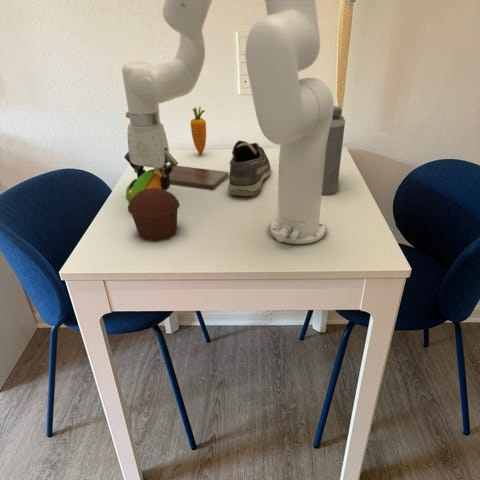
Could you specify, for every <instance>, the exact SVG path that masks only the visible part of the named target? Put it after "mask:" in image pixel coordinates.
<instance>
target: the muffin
mask: <svg viewBox="0 0 480 480" xmlns="http://www.w3.org/2000/svg"><path fill="white" fill-rule="evenodd" d="M180 206H181V204H180V201H179V200H178V198H177V197H176V196H175V194H173V193H171V192H169V191H168V190H163V189H162V188H161V189H159V188H149V189H145V190H142V191H140V192H138V193H137V194H136V195H135V196H134V197H133V198H132V199H131V200H130V203H129V202H128V206H127V211H128V212H129V213H130V215H131V217H132V219H133V222H134V225H135V227H136V230H137V233H138V235H139V236H140V237H141V238H142V239H143V240H146V241H153V242H158V241H162V240H163V241H164V240H168V239H170V238H171V237H173V236H175V235H176V232H177V230H178V209H179V208H180Z"/></svg>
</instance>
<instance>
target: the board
mask: <svg viewBox="0 0 480 480" xmlns="http://www.w3.org/2000/svg"><path fill="white" fill-rule="evenodd" d="M167 165H168V167H169V165H170V164H167ZM152 170H154V171H155V172H159V173H160V171H159V169H158V168H152ZM229 175H230V174H229V171H224V170H215V169H206V168H198V167H191V166H183V165H177V166H176V167H175V168H174V169H173V171H172V172H171V173H170V174H169V180H170V185H177V186H186V187H191V188H199V189H207V190H214V189H216V187H218V186H219V185H220V184H221V183H222V182H223V181H224V180H226V179H227V178H229ZM161 176H162V175H161Z"/></svg>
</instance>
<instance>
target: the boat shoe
mask: <svg viewBox="0 0 480 480" xmlns="http://www.w3.org/2000/svg"><path fill="white" fill-rule="evenodd" d="M231 154H232V157H231V159H230V161H229V174H228V175H229V176H228V180H229V183H228V186H227V187H228V193H229V194H230V195H231V196H240V197H253V196H256V195H258V194H259V193H260V191H261V188H262V185H263V182H264V181H265V180H266V179H267V178H269V177H270V174H271V172H272V169H271V164H270V160H269V158H268V155H267V153H266V152H265V150H264V149H263V147H262V146H260V145H259V143H257V142H251V143H249V142H247V141H245V140H238V141H236V143H234V145H233V148H232V152H231Z"/></svg>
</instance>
